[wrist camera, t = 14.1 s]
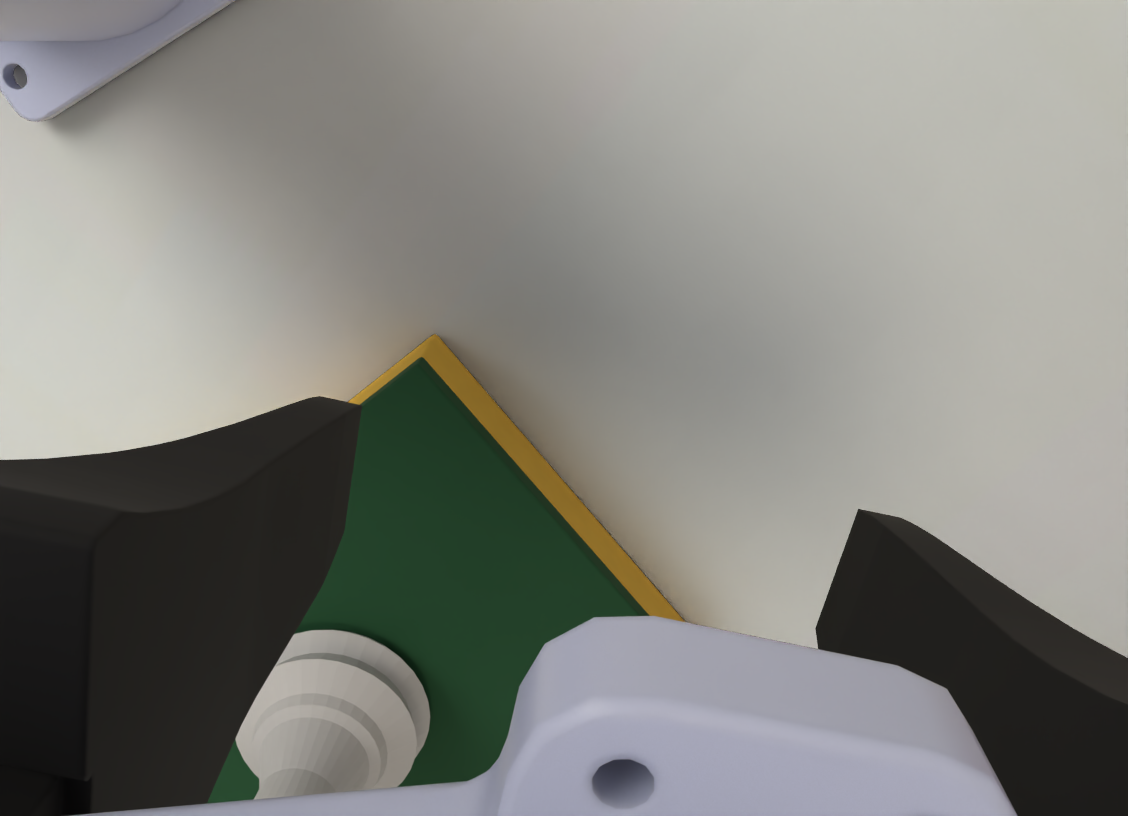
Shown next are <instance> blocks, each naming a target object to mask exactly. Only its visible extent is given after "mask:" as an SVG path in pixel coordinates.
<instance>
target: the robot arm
mask: <svg viewBox="0 0 1128 816" xmlns="http://www.w3.org/2000/svg"><path fill="white" fill-rule="evenodd" d="M234 1H235V0H0V91H1V92H2V93H3V95H4V96H5V98H6V99H7V100H8V102H9V103H10V105H11V106H12V108H13V109H14V110H15V111H16V112H17V113H18V114H19V115H20V116H21V117H23V118H25V119H27V120H29V121H37V122H39V121H45V120H48V119H51V118H54V117H55V116H57V115H58V114H60V113H61V112H63V111H64V110H66V109H68V108H69V107H71V106H72V105H74V104H75V103H77V102H78V101H80V100H82V99H83V98H85V97H86V96H88V95H89V94H91V93H92V92H94V91H96V90H97V89H99V88H100V87H102V86H103V85H105V84H106V83H108V82H110V81H111V80H113V79H114V78H116V77H117V76H119V75H120V74H122V73H124V72H125V71H127V70H128V69H130V68H131V67H133V66H134V65H136V64H138V63H139V62H141V61H142V60H144V59H145V58H147V57H148V56H150V55H152V54H153V53H155V52H156V51H158V50H159V49H161V48H162V47H164V46H165V45H167V44H169V43H170V42H172V41H173V40H175V39H176V38H178V37H179V36H181V35H183V34H184V33H186V32H187V31H189V30H190V29H192V28H193V27H195V26H197V25H198V24H200V23H201V22H203V21H204V20H206V19H207V18H209V17H211V16H212V15H214V14H215V13H217V12H218V11H220V10H221V9H223V8H225V7H226V6H228V5H229V4H231V3H232V2H234ZM17 65H19V66H20V67H22V68H23V69H24V70H25V73H26V75H27V84H26V85H25V86H24V88H23V87H21V86H20V85H19V84H18V83H16V81H15V78H14V76H13V74H14V68H15V67H16V66H17ZM361 410H362V405H358V404H354V403H349V402H344V401H339V400H334V399H330V398H325V397H320V396H319V397H312V398H308V399H305V400H302V401H299V402H295V403H293V404H290V405H287V406H284V407H281V408H278V409H276V410H273V411H270V412H267V413H264V414H261V415H258V416H255V417H253V418H250V419H247V420H244V421H241V422H238V423H235V424H232V425H228V426H225V427H222V428H218V429H215V430H211V431H208V432H205V433H201V434H198V435H194V436H191V437H187V438H184V439H180V440H176V441H172V442H167V443H162V444H158V445H153V446H147V447H142V448H136V449H130V450H125V451H118V452H111V453H102V454H92V455H81V456H70V457H60V458H49V459H24V460H0V816H1128V658H1126V657H1124V656H1123V655H1121V654H1119V653H1117V652H1115V651H1113V650H1111V649H1109V648H1108V647H1106V646H1104V645H1102V644H1100V643H1098V642H1096V641H1094V640H1093V639H1091V638H1089V637H1087V636H1085V635H1084V634H1082V633H1080V632H1079V631H1077V630H1075V629H1073V628H1072V627H1070V626H1068V625H1067V624H1065V623H1063V622H1062V621H1060V620H1059V619H1057V618H1055V617H1054V616H1052V615H1051V614H1049V613H1047V612H1046V611H1044V610H1043V609H1041V608H1039V607H1038V606H1036V605H1035V604H1033V603H1031V602H1030V601H1028V600H1027V599H1025V598H1024V597H1022V596H1021V595H1019V594H1018V593H1016V592H1015V591H1013V590H1012V589H1010V588H1009V587H1007V586H1006V585H1004V584H1003V583H1001V582H1000V581H998V580H997V579H996V578H994V577H993V576H991V575H990V574H988V573H987V572H985V571H984V570H983V569H981V568H980V567H978V566H977V565H975V564H974V563H972V562H971V561H970V560H968V559H967V558H965V557H964V556H962V555H961V554H959V553H958V552H957V551H955V550H954V549H952V548H951V547H949V546H948V545H946V544H945V543H943V542H942V541H940V540H939V539H937V538H936V537H934V536H933V535H931V534H930V533H928V532H926V531H925V530H923V529H921V528H920V527H918V526H916V525H914V524H913V523H911V522H909V521H906V520H904V519H902V518H899V517H894V516H890V515H885V514H880V513H875V512H870V511H866V510H861V509H858V512H857V514H856V517H855V520H854V523H853V525H852V528H851V531H850V534H849V537H848V539H847V542H846V545H845V548H844V551H843V553H842V556H841V559H840V562H839V564H838V567H837V570H836V573H835V576H834V578H833V581H832V584H831V587H830V590H829V592H828V595H827V598H826V601H825V603H824V606H823V609H822V612H821V615H820V617H819V620H818V623H817V626H816V635H817V643H818V649H814V648H810V647H805V646H800V645H795V644H790V643H785V642H780V641H775V640H770V639H765V638H760V637H755V636H751V635H746V634H741V633H736V632H731V631H726V630H721V629H716V628H711V627H706V626H701V625H696V624H692V623H687V622H682V621H677V620H672V619H667V618H662V617H657V616H626V617H594V618H592V619H590V620H588V621H586V622H584V623H583V624H581V625H579V626H577V627H575V628H573V629H571V630H569V631H568V632H566V633H564V634H562V635H560V636H558V637H556V638H554V639H553V640H551V641H549V642H547V643H545V644H544V646H543V647H542V649H541V651H540V652H539V654H538V656H537V658H536V659H535V661H534V663H533V664H532V666H531V668H530V669H529V671H528V673H527V674H526V676H525V678H524V679H523V681H522V683H521V684H520V686H519V690H518V694H517V698H516V703H515V707H514V711H513V716H512V720H511V724H510V728H509V733H508V737H507V739H506V742H505V744H504V747H503V749H502V751H501V754H500V756H499V758H498V759H497V761H496V762H495V763H494V764H493V765H492V767H491V768H490V769H489V770H488V771H486V772H485V773H483V774H481V775H479V776H477V777H476V778H473V779H471V780H469V781H462V782H451V783H439V784H427V785H416V786H404V787H393V788H381V789H370V790H358V791H347V792H335V793H323V794H312V795H300V796H289V797H277V798H266V799H254V800H242V801H231V802H219V803H208V804H207V802H208V800H209V797H210V795H211V793H212V790H213V788H214V786H215V783H216V781H217V779H218V777H219V774H220V772H221V770H222V768H223V765H224V763H225V761H226V759H227V756H228V754H229V752H230V750H231V747H232V745H233V743H234V741H235V739H236V736H237V734H238V732H239V730H240V727H241V725H242V723H243V721H244V719H245V717H246V715H247V713H248V712H249V710H250V708H251V706H252V704H253V702H254V700H255V698H256V697H257V695H258V693H259V692H260V690H261V688H262V687H263V685H264V683H265V682H266V680H267V678H268V677H269V675H270V673H271V672H272V670H273V668H274V666H275V665H276V663H277V661H278V660H279V658H280V656H281V655H282V653H283V651H284V650H285V648H286V646H287V645H288V643H289V641H290V640H291V638H292V637H293V635H294V633H295V632H296V630H297V628H298V627H299V625H300V623H301V621H302V620H303V618H304V616H305V615H306V613H307V611H308V610H309V608H310V606H311V604H312V603H313V601H314V599H315V598H316V596H317V594H318V592H319V591H320V589H321V587H322V585H323V583H324V581H325V579H326V576H327V574H328V571H329V569H330V567H331V564H332V562H333V559H334V557H335V554H336V552H337V549H338V547H339V544H340V541H341V539H342V536H343V534H344V530H345V523H346V516H347V509H348V502H349V495H350V488H351V481H352V474H353V467H354V460H355V452H356V445H357V438H358V431H359V424H360V417H361Z"/></svg>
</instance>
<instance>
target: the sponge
mask: <svg viewBox="0 0 1128 816" xmlns="http://www.w3.org/2000/svg"><path fill="white" fill-rule="evenodd" d="M348 402H349V403H354V404H358V405H362V410H361V417H360V424H359V431H358V438H357V445H356V452H355V460H354V467H353V474H352V481H351V488H350V495H349V502H348V509H347V516H346V523H345V530H344V534H343V536H342V539H341V541H340V544H339V547H338V549H337V552H336V554H335V557H334V559H333V562H332V564H331V567H330V569H329V571H328V574H327V576H326V579H325V581H324V583H323V585H322V587H321V589H320V591H319V592H318V594H317V596H316V598H315V599H314V601H313V603H312V604H311V606H310V608H309V610H308V611H307V613H306V615H305V616H304V618H303V620H302V621H301V623H300V625H299V627H298V628H297V630H296V632H295V633H294V634H297V633H301V632H306V631H311V630H340V631H347V632H353V633H356V634H359V635H363V636H366V637H369V638H371V639H373V640H375V641H377V642H379V643H381V644H383V645H384V646H386V647H387V648H389V649H390V650H391V651H393V652H394V653H395V654H397V655H398V656H399V657H400V658H401V659H402V660H403V661H404V662H405V663H406V664H407V665H408V666H409V667H410V668H411V669H412V670H413V672H414V673H415V675H416V676H417V678H418V679H419V681H420V682H421V684H422V686H423V688H424V691H425V694H426V696H427V699H428V703H429V710H430V724H429V732H428V735H427V737H426V740H425V743H424V746H423V747H422V749H421V750H420V752H419V753H418V755H417V756H416V758H415V759H414V762H413V765H412V767H411V770H410V771H409V773H408V774H407V776H406V777H405V779H404V780H403V782H402V783H401V784H400V785H399V786H398V787H404V786H416V785H427V784H439V783H451V782H462V781H469V780H471V779H473V778H476V777H477V776H479V775H481V774H483V773H485V772H486V771H488V770H489V769H490V768H491V767H492V765H493V764H494V763H495V762H496V761H497V759H498V758H499V756H500V754H501V751H502V749H503V747H504V744H505V742H506V739H507V737H508V733H509V728H510V724H511V720H512V716H513V711H514V707H515V703H516V698H517V694H518V690H519V686H520V684H521V683H522V681H523V679H524V678H525V676H526V674H527V673H528V671H529V669H530V668H531V666H532V664H533V663H534V661H535V659H536V658H537V656H538V654H539V652H540V651H541V649H542V647H543V646H544V644H545V643H547V642H549V641H551V640H553V639H554V638H556V637H558V636H560V635H562V634H564V633H566V632H568V631H569V630H571V629H573V628H575V627H577V626H579V625H581V624H583V623H584V622H586V621H588V620H590V619H592V618H594V617H626V616H657V617H662V618H667V619H672V620H677V621H682V622H685V621H684V620H683V619H682V618H681V617H680V615H679V614H678V613H677V612H676V611H675V610H674V608H673V607H672V606H671V605H670V604H669V603H668V602H667V600H666V599H665V598H664V597H663V596H662V595H661V593H660V592H659V591H658V590H657V589H656V588H655V587H654V585H653V584H652V583H651V582H650V581H649V580H648V578H647V577H646V576H645V575H644V574H643V573H642V571H641V570H640V569H639V568H638V567H637V566H636V565H635V563H634V562H633V561H632V560H631V559H630V558H629V556H628V555H627V554H626V553H625V552H624V551H623V549H622V548H621V547H620V546H619V545H618V544H617V543H616V541H615V540H614V539H613V538H612V537H611V536H610V534H609V533H608V532H607V531H606V530H605V529H604V528H603V526H602V525H601V524H600V523H599V522H598V521H597V519H596V518H595V517H594V516H593V515H592V514H591V512H590V511H589V510H588V509H587V508H586V507H585V506H584V504H583V503H582V502H581V501H580V500H579V499H578V497H577V496H576V495H575V494H574V493H573V492H572V490H571V489H570V488H569V487H568V486H567V485H566V484H565V482H564V481H563V480H562V479H561V478H560V477H559V475H558V474H557V473H556V472H555V471H554V470H553V469H552V467H551V466H550V465H549V464H548V463H547V462H546V460H545V459H544V458H543V457H542V456H541V455H540V453H539V452H538V451H537V450H536V449H535V448H534V447H533V445H532V444H531V443H530V442H529V441H528V440H527V438H526V437H525V436H524V435H523V434H522V433H521V432H520V430H519V429H518V428H517V427H516V426H515V425H514V423H513V422H512V421H511V420H510V419H509V418H508V416H507V415H506V414H505V413H504V412H503V411H502V410H501V408H500V407H499V406H498V405H497V404H496V403H495V401H494V400H493V399H492V398H491V397H490V396H489V394H488V393H487V392H486V391H485V390H484V389H483V388H482V386H481V385H480V384H479V383H478V382H477V381H476V379H475V378H474V377H473V376H472V375H471V374H470V373H469V371H468V370H467V369H466V368H465V367H464V366H463V364H462V363H461V362H460V361H459V360H458V359H457V357H456V356H455V355H454V354H453V353H452V352H451V351H450V349H449V348H448V347H447V346H446V345H445V344H444V342H443V341H442V340H441V339H440V338H439V337H438V336H437V335H436V334H434V335H432V336H431V337H429V338H428V339H427V340H426V341H424V342H423V343H422V344H420V345H419V346H418V347H417V348H415V349H414V350H413V351H412V352H410V353H409V354H408V355H407V356H405V357H404V358H403V359H401V360H400V361H399V362H398V363H396V364H395V365H394V366H393V367H391V368H390V369H389V370H388V371H386V372H385V373H384V374H382V375H381V376H380V377H379V378H377V379H376V380H375V381H374V382H372V383H371V384H370V385H369V386H367V387H366V388H365V389H363V390H362V391H361V392H360V393H358V394H357V395H356V396H355V397H353V398H352V399H351V400H350V401H348ZM258 791H259V778H258V777H257V776H256V775H255V774H254V773H253V772H252V770H251V769H250V768H249V766H248V765H247V764H246V762H245V761H244V759H243V757H242V755H241V753H240V751H239V749H238V747H237V743H236V739H235V741H234V743H233V745H232V747H231V750H230V752H229V754H228V756H227V759H226V761H225V763H224V765H223V768H222V770H221V772H220V774H219V777H218V779H217V781H216V783H215V786H214V788H213V790H212V793H211V795H210V797H209V800H208V802H207V804H208V803H219V802H231V801H242V800H254V798H255V796H256V794H257V792H258Z"/></svg>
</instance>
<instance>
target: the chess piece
mask: <svg viewBox="0 0 1128 816" xmlns="http://www.w3.org/2000/svg"><path fill="white" fill-rule="evenodd" d="M429 724H430V710H429V703H428V699H427V696H426V694H425V691H424V688H423V686H422V684H421V682H420V681H419V679H418V678H417V676H416V675H415V673H414V672H413V670H412V669H411V668H410V667H409V666H408V665H407V664H406V663H405V662H404V661H403V660H402V659H401V658H400V657H399V656H398V655H397V654H395V653H394V652H393V651H391V650H390V649H389V648H387V647H386V646H384V645H383V644H381V643H379V642H377V641H375V640H373V639H371V638H369V637H366V636H363V635H359V634H356V633H353V632H347V631H340V630H311V631H306V632H301V633H297V634H294V635H293V637H292V638H291V640H290V641H289V643H288V645H287V646H286V648H285V650H284V651H283V653H282V655H281V656H280V658H279V660H278V661H277V663H276V665H275V666H274V668H273V670H272V672H271V673H270V675H269V677H268V678H267V680H266V682H265V683H264V685H263V687H262V688H261V690H260V692H259V693H258V695H257V697H256V698H255V700H254V702H253V704H252V706H251V708H250V710H249V712H248V713H247V715H246V717H245V719H244V721H243V723H242V725H241V727H240V730H239V732H238V734H237V736H236V743H237V747H238V749H239V751H240V753H241V755H242V757H243V759H244V761H245V762H246V764H247V765H248V766H249V768H250V769H251V770H252V772H253V773H254V774H255V775H256V776H257V777H258V778H259V791H258V792H257V794H256V796H255V798H254V799H266V798H277V797H289V796H300V795H312V794H323V793H335V792H347V791H358V790H370V789H381V788H393V787H398V786H399V785H400V784H401V783H402V782H403V780H404V779H405V777H406V776H407V774H408V773H409V771H410V770H411V767H412V765H413V762H414V759H415V758H416V756H417V755H418V753H419V752H420V750H421V749H422V747H423V746H424V743H425V740H426V737H427V735H428V732H429Z"/></svg>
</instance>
